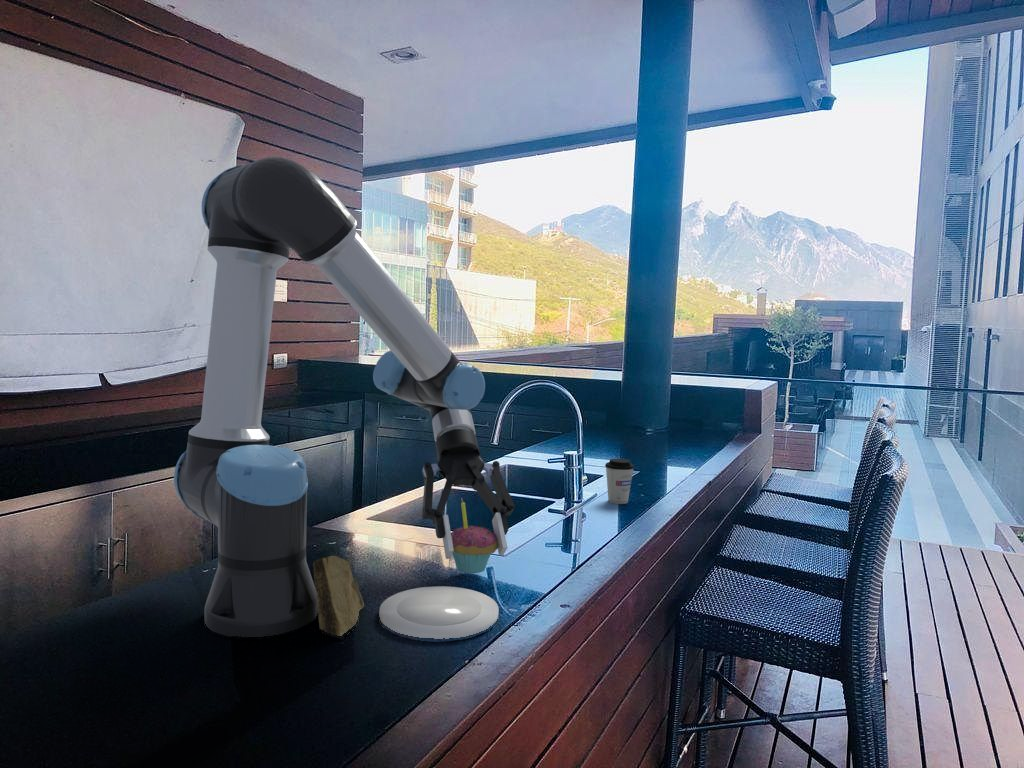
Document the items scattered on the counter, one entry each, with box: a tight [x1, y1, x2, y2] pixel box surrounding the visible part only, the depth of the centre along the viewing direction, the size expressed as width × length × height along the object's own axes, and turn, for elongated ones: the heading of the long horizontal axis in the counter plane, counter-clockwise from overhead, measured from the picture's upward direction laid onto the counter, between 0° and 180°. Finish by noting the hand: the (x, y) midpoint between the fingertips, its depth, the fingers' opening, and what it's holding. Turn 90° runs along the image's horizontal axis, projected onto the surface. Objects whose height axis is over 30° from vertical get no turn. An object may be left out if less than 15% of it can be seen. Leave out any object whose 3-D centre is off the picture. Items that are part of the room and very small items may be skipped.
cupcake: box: [451, 497, 498, 574], centre depth 122 cm, size 9×8×12 cm
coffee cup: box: [604, 458, 635, 505], centre depth 175 cm, size 7×7×10 cm
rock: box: [312, 555, 365, 636], centre depth 102 cm, size 11×9×10 cm
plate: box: [378, 585, 500, 639], centre depth 105 cm, size 17×17×1 cm
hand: (476, 553), depth 119 cm, fingers closed on cupcake, 8 cm apart
